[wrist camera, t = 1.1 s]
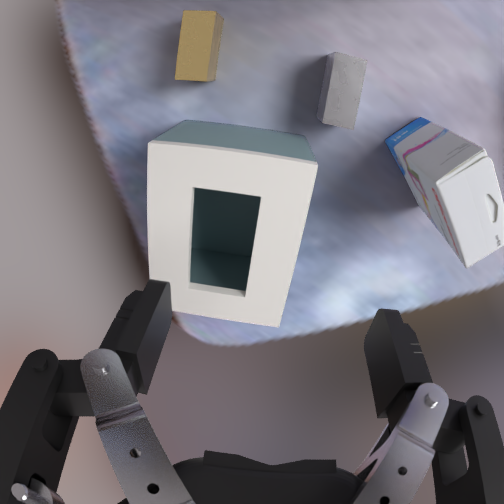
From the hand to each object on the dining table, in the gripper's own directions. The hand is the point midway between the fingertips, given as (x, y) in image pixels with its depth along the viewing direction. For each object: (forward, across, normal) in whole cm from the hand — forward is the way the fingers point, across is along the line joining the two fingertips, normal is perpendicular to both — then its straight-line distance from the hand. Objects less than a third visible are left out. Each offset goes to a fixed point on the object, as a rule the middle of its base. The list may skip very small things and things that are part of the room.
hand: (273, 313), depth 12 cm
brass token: (+21, +8, -10) cm, 24 cm away
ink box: (+21, -14, -2) cm, 25 cm away
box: (+20, +3, +4) cm, 21 cm away
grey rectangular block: (+21, -4, -8) cm, 23 cm away
